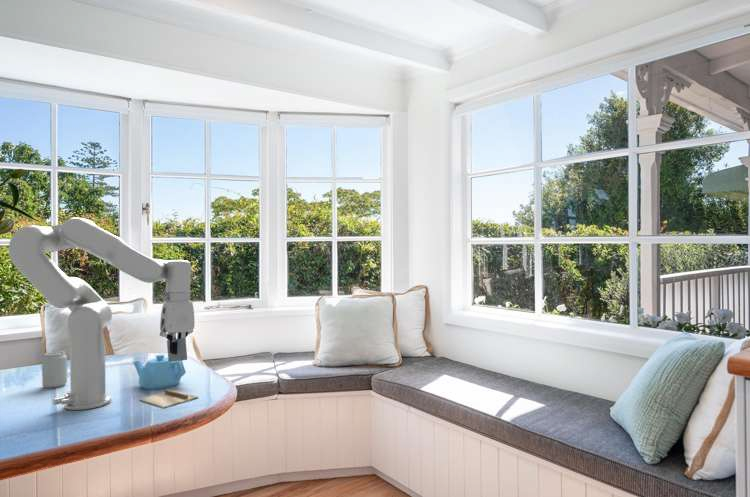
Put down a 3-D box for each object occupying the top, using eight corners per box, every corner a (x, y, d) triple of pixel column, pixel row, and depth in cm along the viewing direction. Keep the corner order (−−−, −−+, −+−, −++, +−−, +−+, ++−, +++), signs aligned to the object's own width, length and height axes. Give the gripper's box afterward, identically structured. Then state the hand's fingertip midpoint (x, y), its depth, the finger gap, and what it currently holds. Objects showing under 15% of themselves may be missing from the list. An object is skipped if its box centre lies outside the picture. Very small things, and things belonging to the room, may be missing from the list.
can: (37, 387, 172) (37, 353, 172) (59, 382, 179) (59, 349, 179) (49, 389, 169) (49, 355, 169) (71, 384, 175) (71, 351, 175)
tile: (182, 360, 155) (181, 338, 156) (168, 361, 160) (166, 340, 161) (187, 359, 157) (185, 337, 157) (172, 361, 161) (171, 339, 162)
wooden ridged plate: (163, 408, 147) (163, 403, 147) (139, 400, 155) (139, 395, 155) (197, 398, 157) (197, 393, 157) (173, 391, 165) (173, 386, 165)
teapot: (139, 394, 163) (139, 362, 163) (133, 384, 175) (133, 354, 175) (186, 386, 171) (186, 356, 171) (177, 377, 184) (177, 349, 184)
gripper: (162, 299, 150) (160, 358, 150) (204, 296, 163) (203, 351, 163) (149, 298, 155) (147, 355, 154) (191, 295, 167) (190, 348, 167)
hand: (176, 352), depth 159 cm, fingers closed on tile, 1 cm apart
